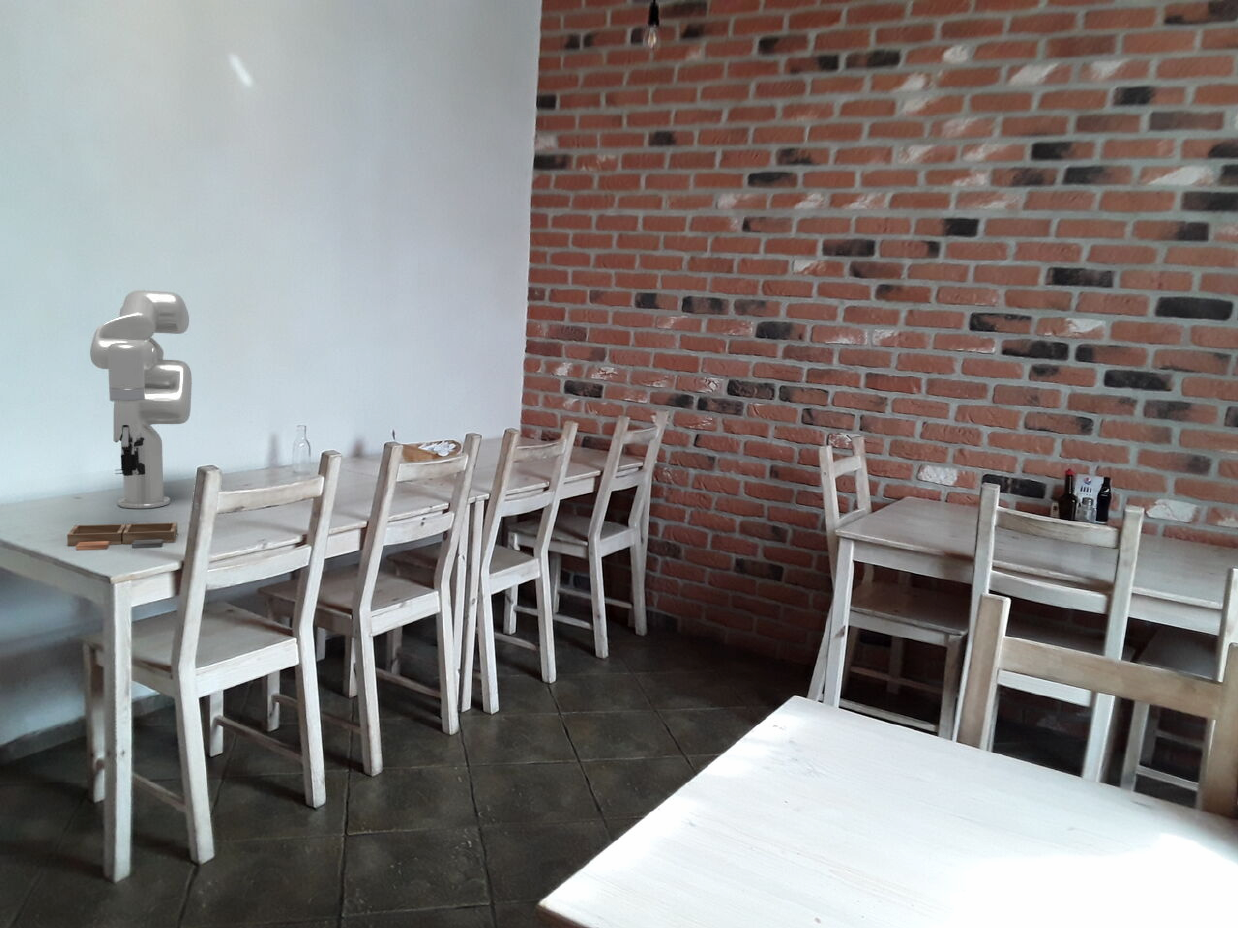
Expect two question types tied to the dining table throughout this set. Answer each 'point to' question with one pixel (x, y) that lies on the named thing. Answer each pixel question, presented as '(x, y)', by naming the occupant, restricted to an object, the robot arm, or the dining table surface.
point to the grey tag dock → (149, 534)
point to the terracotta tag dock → (95, 536)
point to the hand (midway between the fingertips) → (130, 467)
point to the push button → (140, 466)
